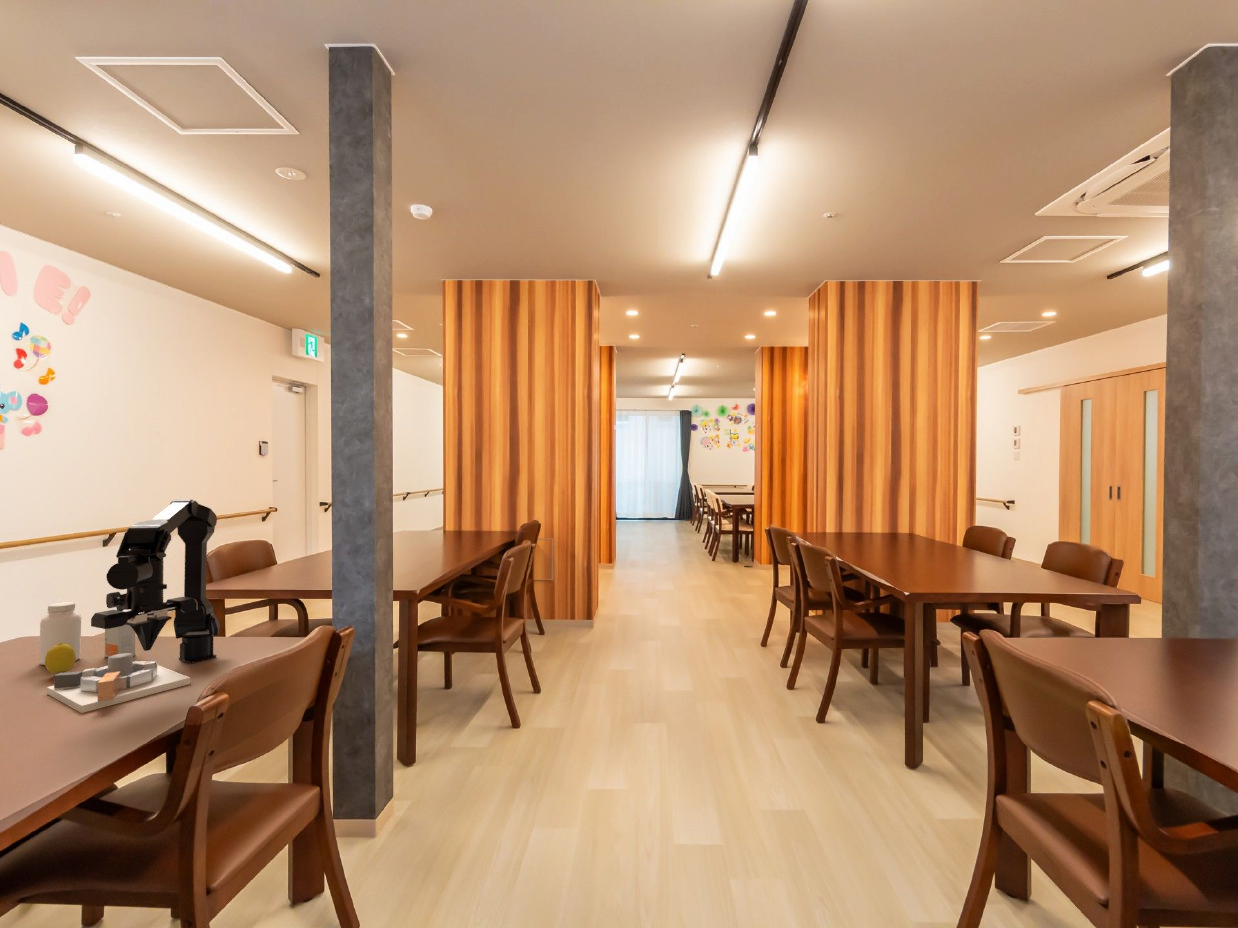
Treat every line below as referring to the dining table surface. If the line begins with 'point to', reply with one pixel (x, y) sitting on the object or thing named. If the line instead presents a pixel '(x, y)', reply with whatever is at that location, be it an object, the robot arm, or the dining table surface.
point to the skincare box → (119, 640)
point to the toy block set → (116, 679)
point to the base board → (84, 701)
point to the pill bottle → (60, 629)
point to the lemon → (60, 658)
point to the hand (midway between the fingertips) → (147, 650)
